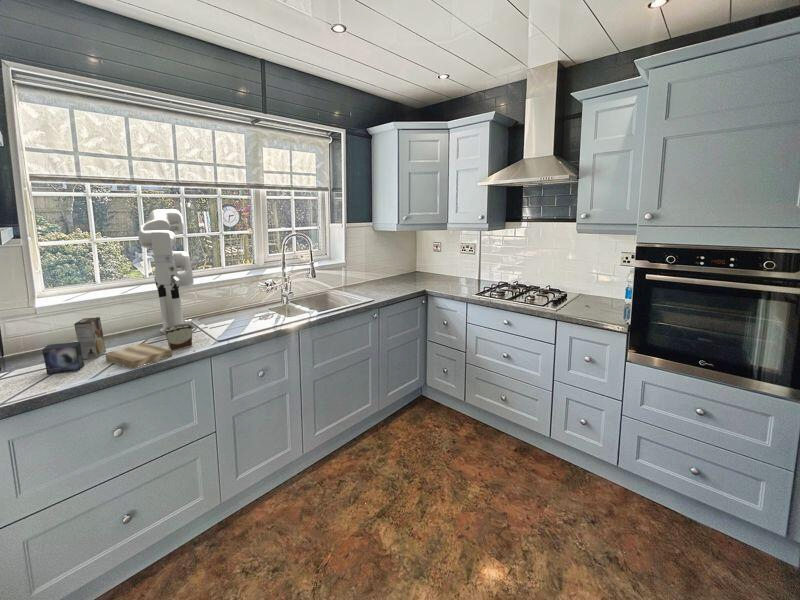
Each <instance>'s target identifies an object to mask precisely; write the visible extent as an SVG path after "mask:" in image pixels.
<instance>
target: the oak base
mask: <svg viewBox="0 0 800 600" xmlns="http://www.w3.org/2000/svg"><path fill="white" fill-rule="evenodd" d="M172 352H173V351H171V349H169V348H166V347H162V346H158V345H154V344H151V343H146V342H143V343H140V344H139V343H138V344H136V345H131V346H128V347H125V348H121V349H118V350H114V351H110V352H107V353H105V360H106V361H107V362H109V363H113V364H115V365H116V364H117V365H119V364H120V365H119V366H123V365H124V366H123V367H126V366H127V367H126V368H129V367H131V368H130V369H133V368H135V367H138V366H141V365H144V364H147V365H149V364H148V363H150V364H151V362H153V363H155V362H154V361H156V362H158V361H157V360H159V361H161V360H160V359H162V360H164V359H163V358H165V359H167V358H166V357H168V358H171V357H173V353H172ZM170 356H171V357H170ZM144 366H145V365H144ZM141 367H142V366H141ZM138 368H139V367H138ZM135 369H136V368H135Z"/></svg>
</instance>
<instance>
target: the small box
mask: <svg viewBox="0 0 800 600" xmlns="http://www.w3.org/2000/svg"><path fill="white" fill-rule="evenodd" d="M41 350H42V351H41V352H42V355H43V360H44V365H45V369H46V375H54V374H63V372H64V373H71V371H72V372H78V371H77V370H80V369H81V368H82V367H85V363H84V359H83V357H82V351H81V346H80V341H79V342H78V341H69V342H64V343H63V342H62V343H51V344H50V343H49V344H47V345H46V346H45V347H43V348H42V349H41ZM81 370H82V369H81ZM81 370H80V371H81Z"/></svg>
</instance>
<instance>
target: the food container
mask: <svg viewBox="0 0 800 600" xmlns="http://www.w3.org/2000/svg"><path fill="white" fill-rule="evenodd" d="M193 330H194V327H193V325H192V323H187V324H178V325H173V326H169V327H167V328H165V330H164V333H163V334H164V335H165V337H166V340H167V344H168V349H171V351H172V350H173V351H177V350H181V349H185V348H188V346H189V347H192V346H193ZM184 347H185V348H184ZM180 348H181V349H180ZM176 349H177V350H176ZM173 351H172V352H173Z"/></svg>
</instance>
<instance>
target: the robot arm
mask: <svg viewBox="0 0 800 600" xmlns="http://www.w3.org/2000/svg"><path fill="white" fill-rule="evenodd" d="M183 231H184V219H183V215H182V213H181V212H180V211H179V210H177V209H173V208H172V209H154V210H151V212H150V213H149V216H148V220H145V222H144V223H143V224H142V225H140V226H139V229H138V241H139V244H140V246H142V248H147V249H148V248H149V249H150V248H152V255H153V263H154V273H155V275H154V277H153V278H154V282H155V283H154V284H155V286H156V290H157V294H158V299H159V307H160V313H161V321H162V328H160V329H159V330H160V333H163V334H164V330H165V328H167V327H169V326H173V325H178V324H192V323H193V319H191V318H190V319H184V316H183V307H182V301H181V296H180V291H179V289H184V288H191V287H192V286H193V285H194V275H193V268H192V262H191V258H190V257H191V256H190V254H188V252H187V251H184V250H183V251H182V250H180V251H179V250H178V251H174V249H173V247H174V245H175V244H176V243H177V237H176V235H181V234H182V233H183Z"/></svg>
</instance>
